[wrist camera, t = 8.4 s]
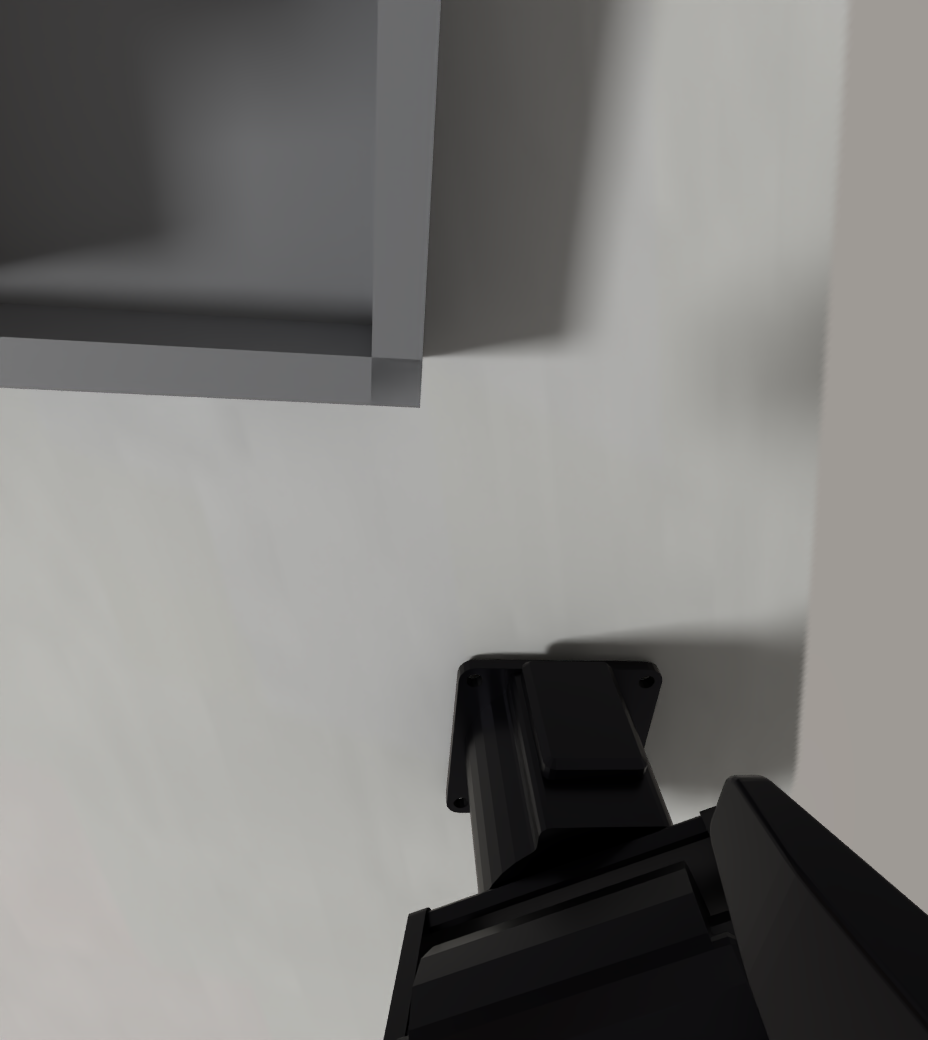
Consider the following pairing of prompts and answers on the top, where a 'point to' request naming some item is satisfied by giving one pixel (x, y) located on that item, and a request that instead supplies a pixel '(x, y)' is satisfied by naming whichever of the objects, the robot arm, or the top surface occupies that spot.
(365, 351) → the bay
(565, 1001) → the robot arm
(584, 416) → the top surface
